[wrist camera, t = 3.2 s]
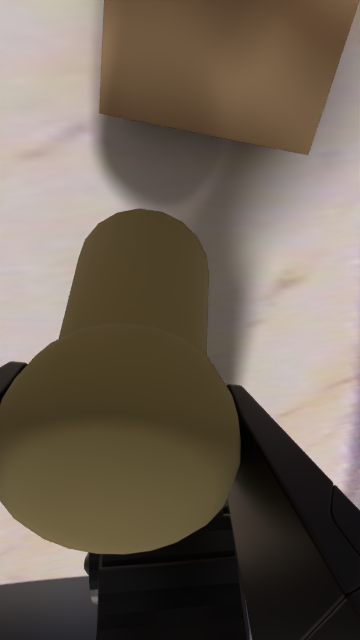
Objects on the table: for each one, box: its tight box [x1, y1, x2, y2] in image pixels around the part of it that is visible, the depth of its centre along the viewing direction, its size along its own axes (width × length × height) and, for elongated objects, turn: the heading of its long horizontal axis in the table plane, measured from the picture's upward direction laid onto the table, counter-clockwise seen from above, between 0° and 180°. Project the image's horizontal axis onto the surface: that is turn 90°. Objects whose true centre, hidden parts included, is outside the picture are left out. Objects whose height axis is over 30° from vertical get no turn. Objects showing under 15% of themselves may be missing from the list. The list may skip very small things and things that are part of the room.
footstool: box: [99, 0, 359, 155], centre depth 14 cm, size 10×10×3 cm
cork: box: [0, 209, 241, 554], centre depth 11 cm, size 6×6×11 cm
